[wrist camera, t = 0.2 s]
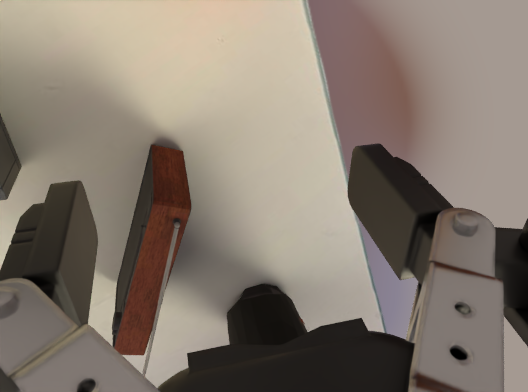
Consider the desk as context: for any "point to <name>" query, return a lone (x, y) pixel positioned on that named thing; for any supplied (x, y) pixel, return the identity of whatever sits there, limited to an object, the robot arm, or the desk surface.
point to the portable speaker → (264, 318)
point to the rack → (7, 162)
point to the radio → (150, 250)
